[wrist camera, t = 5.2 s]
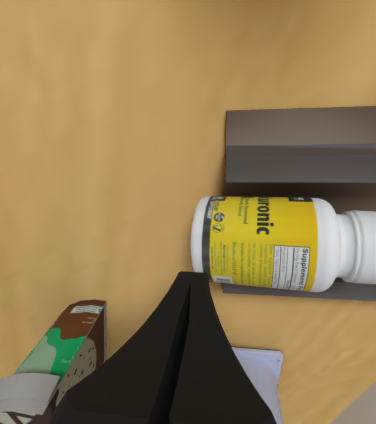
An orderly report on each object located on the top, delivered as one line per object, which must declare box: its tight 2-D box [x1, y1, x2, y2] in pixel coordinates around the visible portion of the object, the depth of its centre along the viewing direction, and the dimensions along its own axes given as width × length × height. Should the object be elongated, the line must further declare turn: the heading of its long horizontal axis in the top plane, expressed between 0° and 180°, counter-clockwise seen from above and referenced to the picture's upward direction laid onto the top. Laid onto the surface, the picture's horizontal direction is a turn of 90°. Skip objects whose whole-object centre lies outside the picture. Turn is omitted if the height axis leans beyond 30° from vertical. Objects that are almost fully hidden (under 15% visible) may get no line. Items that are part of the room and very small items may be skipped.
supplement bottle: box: [191, 196, 376, 292], centre depth 16 cm, size 5×5×10 cm
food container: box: [0, 300, 106, 424], centre depth 23 cm, size 12×6×10 cm, turn 172°
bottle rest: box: [222, 106, 376, 301], centre depth 17 cm, size 14×15×3 cm
